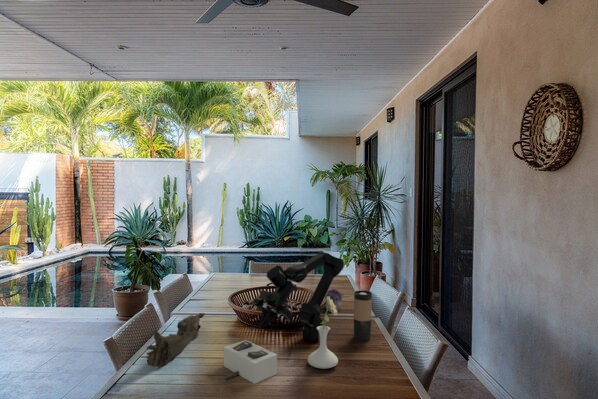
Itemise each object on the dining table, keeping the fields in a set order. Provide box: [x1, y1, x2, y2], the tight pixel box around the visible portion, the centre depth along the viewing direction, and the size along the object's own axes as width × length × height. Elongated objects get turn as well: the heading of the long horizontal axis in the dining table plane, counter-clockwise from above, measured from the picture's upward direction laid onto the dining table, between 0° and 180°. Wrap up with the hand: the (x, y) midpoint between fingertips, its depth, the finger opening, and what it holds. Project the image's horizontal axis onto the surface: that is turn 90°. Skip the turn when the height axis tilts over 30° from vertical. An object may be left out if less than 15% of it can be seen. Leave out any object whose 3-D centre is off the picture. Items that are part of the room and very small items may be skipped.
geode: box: [323, 288, 344, 314], centre depth 218 cm, size 20×12×10 cm, turn 177°
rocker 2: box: [248, 351, 268, 358], centre depth 138 cm, size 6×4×1 cm, turn 135°
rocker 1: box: [233, 340, 253, 351], centre depth 145 cm, size 6×4×1 cm, turn 134°
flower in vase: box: [307, 296, 339, 370], centre depth 147 cm, size 13×11×25 cm
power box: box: [223, 339, 278, 384], centre depth 140 cm, size 15×18×7 cm
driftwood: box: [146, 312, 206, 369], centre depth 159 cm, size 4×52×14 cm, turn 175°
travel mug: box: [353, 290, 373, 342], centre depth 174 cm, size 8×8×20 cm
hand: (259, 327), depth 150 cm, fingers closed
